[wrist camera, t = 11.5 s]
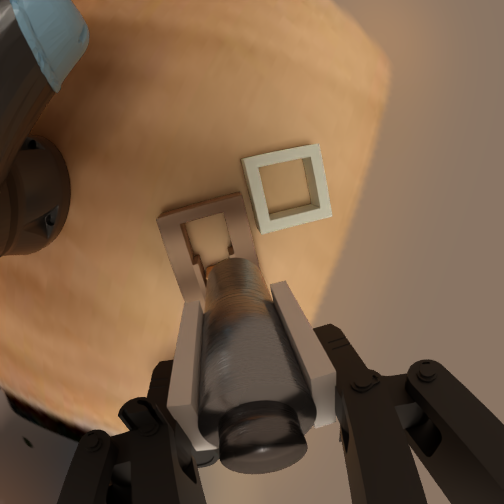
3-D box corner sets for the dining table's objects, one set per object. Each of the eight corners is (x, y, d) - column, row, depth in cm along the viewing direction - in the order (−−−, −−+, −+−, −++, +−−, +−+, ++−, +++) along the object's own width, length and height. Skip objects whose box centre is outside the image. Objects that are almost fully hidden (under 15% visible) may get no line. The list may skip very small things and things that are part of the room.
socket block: (161, 213, 30) (155, 219, 27) (239, 191, 30) (241, 194, 27) (196, 315, 34) (195, 328, 31) (265, 297, 35) (269, 309, 32)
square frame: (240, 158, 29) (243, 158, 26) (309, 144, 29) (319, 143, 27) (257, 227, 32) (261, 234, 29) (322, 211, 32) (332, 216, 29)
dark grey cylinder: (200, 264, 17) (175, 432, 5) (257, 251, 17) (327, 401, 6) (214, 314, 18) (218, 487, 6) (268, 302, 18) (328, 464, 7)
